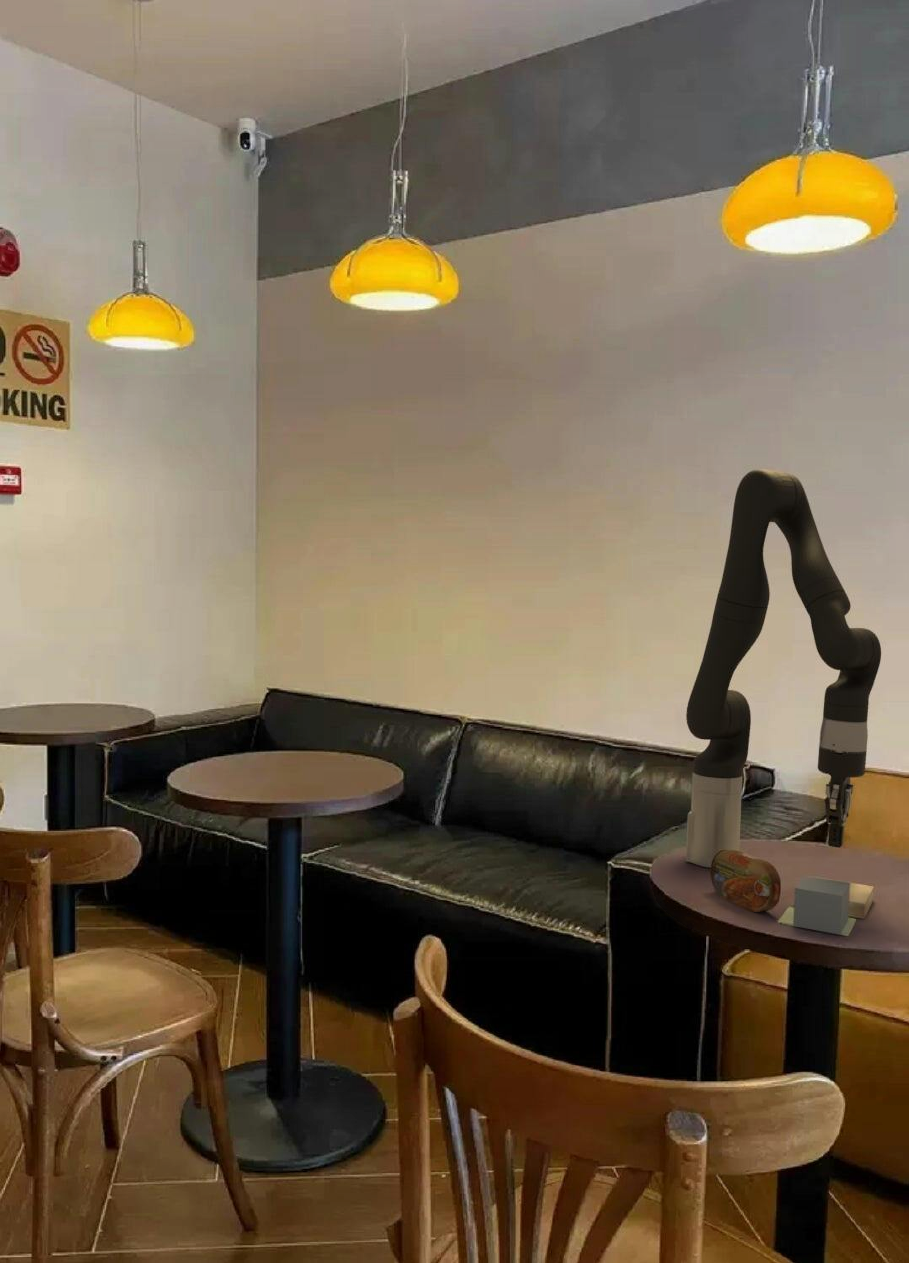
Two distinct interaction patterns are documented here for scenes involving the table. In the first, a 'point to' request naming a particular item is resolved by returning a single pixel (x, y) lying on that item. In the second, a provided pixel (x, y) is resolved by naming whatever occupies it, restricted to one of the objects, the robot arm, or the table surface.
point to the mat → (788, 920)
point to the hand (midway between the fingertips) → (835, 846)
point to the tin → (745, 880)
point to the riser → (859, 899)
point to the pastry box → (821, 904)
